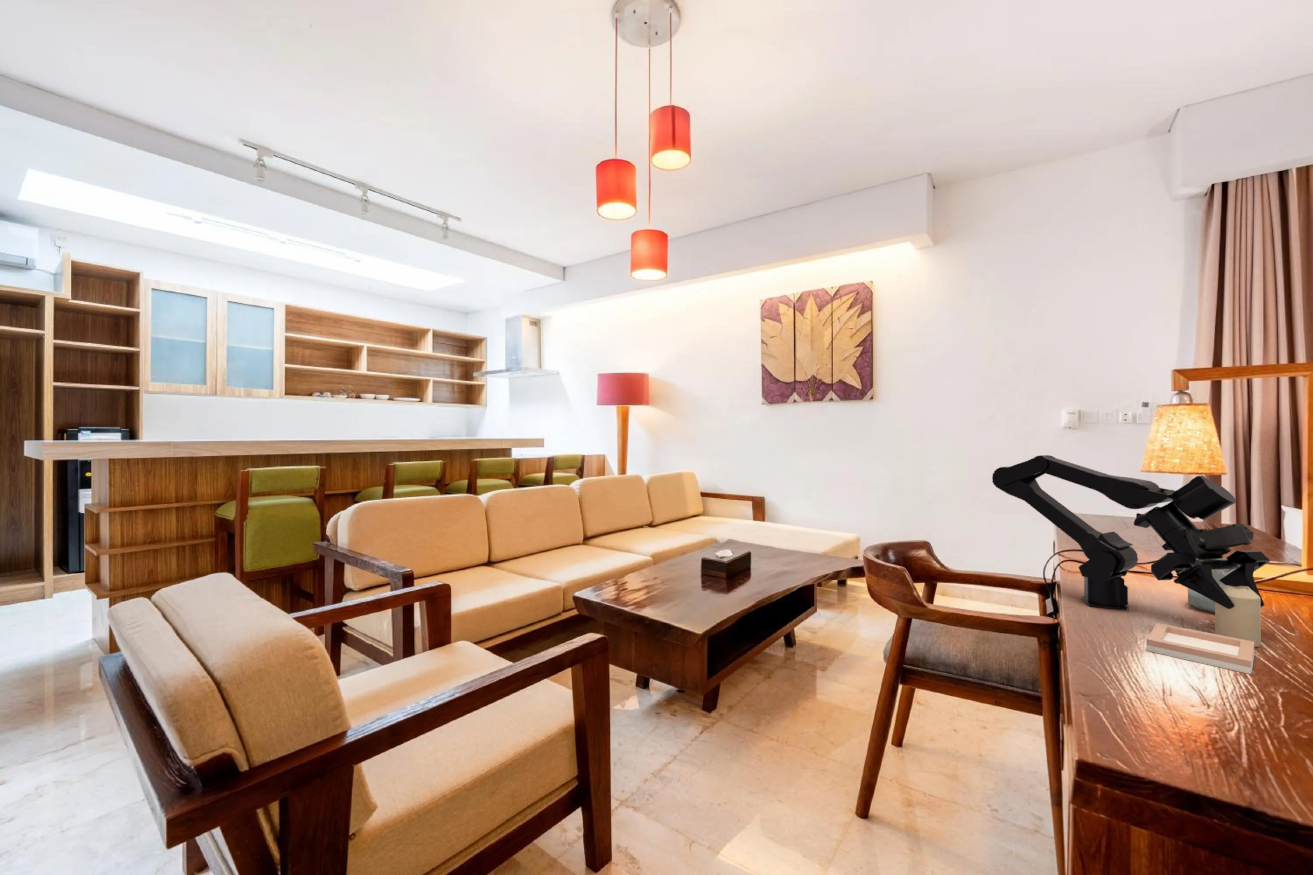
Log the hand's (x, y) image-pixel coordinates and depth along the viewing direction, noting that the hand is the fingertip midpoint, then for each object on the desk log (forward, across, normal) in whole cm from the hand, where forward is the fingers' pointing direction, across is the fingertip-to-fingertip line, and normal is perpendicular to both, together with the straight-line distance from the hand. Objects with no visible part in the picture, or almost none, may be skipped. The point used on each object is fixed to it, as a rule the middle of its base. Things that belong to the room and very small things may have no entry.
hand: (1246, 607), depth 93 cm
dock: (+6, -12, +3) cm, 14 cm away
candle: (+4, 0, +6) cm, 7 cm away
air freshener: (-8, +16, +17) cm, 25 cm away
